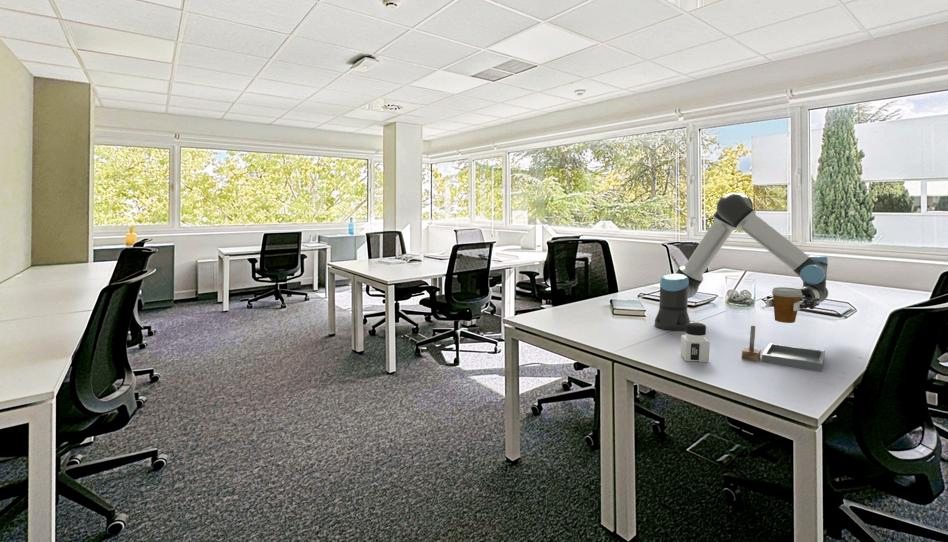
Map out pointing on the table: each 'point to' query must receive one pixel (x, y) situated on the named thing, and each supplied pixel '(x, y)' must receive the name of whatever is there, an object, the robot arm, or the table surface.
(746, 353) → the stand
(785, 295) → the disposable coffee cup
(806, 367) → the tray
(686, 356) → the container
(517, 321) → the table surface
